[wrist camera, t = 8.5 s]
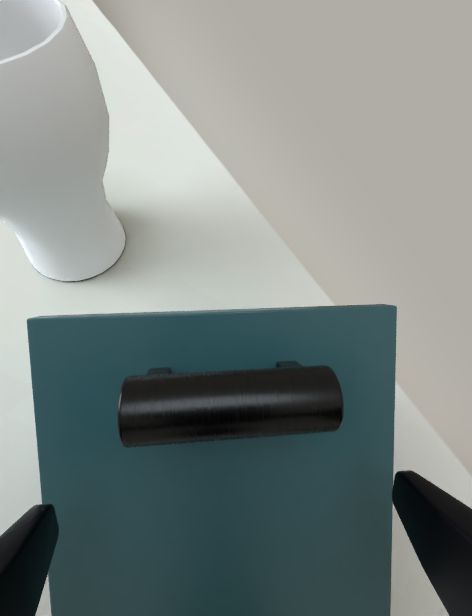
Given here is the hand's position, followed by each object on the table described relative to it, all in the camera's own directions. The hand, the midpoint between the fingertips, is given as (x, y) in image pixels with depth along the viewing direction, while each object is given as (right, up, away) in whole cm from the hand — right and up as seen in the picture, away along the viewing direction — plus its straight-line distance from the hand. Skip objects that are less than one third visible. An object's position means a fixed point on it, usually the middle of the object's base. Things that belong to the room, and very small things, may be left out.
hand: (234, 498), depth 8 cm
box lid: (0, -1, +3) cm, 3 cm away
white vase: (-13, +10, +19) cm, 25 cm away
